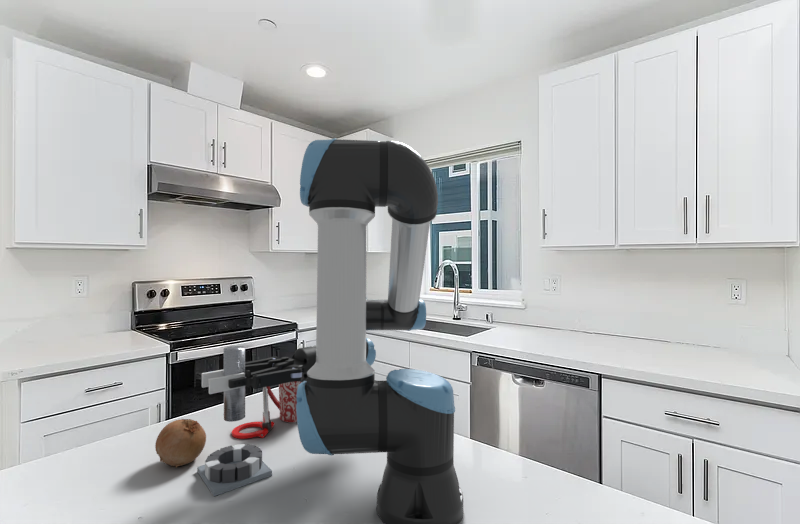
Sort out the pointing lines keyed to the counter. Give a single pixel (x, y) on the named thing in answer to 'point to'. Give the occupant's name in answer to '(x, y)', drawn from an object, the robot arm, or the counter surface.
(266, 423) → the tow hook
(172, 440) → the onion
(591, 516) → the counter surface
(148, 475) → the counter surface
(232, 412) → the steel rod
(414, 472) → the robot arm
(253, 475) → the chuck
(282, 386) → the mug
